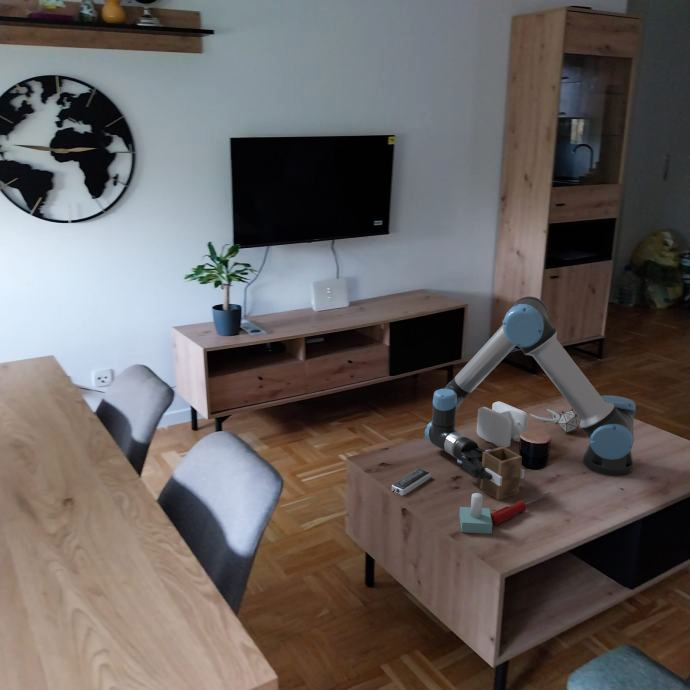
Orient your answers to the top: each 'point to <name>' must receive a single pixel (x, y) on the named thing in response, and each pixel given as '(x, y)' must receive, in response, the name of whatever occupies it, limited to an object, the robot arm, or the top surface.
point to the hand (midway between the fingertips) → (512, 478)
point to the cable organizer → (501, 424)
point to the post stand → (475, 517)
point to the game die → (569, 421)
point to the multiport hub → (411, 481)
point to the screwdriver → (511, 511)
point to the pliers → (548, 417)
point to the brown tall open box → (502, 472)
